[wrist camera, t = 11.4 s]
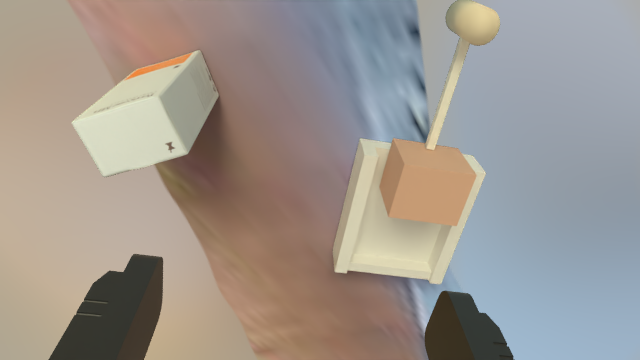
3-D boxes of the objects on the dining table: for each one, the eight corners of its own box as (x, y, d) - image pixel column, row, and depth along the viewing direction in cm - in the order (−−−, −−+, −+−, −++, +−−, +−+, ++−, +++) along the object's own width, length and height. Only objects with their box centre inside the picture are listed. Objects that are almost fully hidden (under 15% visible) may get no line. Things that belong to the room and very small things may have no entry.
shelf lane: (359, 138, 41) (364, 154, 38) (472, 155, 43) (486, 173, 40) (332, 249, 47) (334, 271, 44) (432, 262, 49) (440, 284, 46)
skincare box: (200, 47, 37) (160, 94, 26) (220, 95, 39) (191, 156, 28) (132, 68, 37) (67, 122, 27) (155, 114, 40) (103, 181, 29)
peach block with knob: (430, -9, 35) (453, 2, 29) (503, 6, 35) (538, 19, 30) (377, 181, 43) (388, 217, 37) (437, 190, 43) (456, 226, 38)
